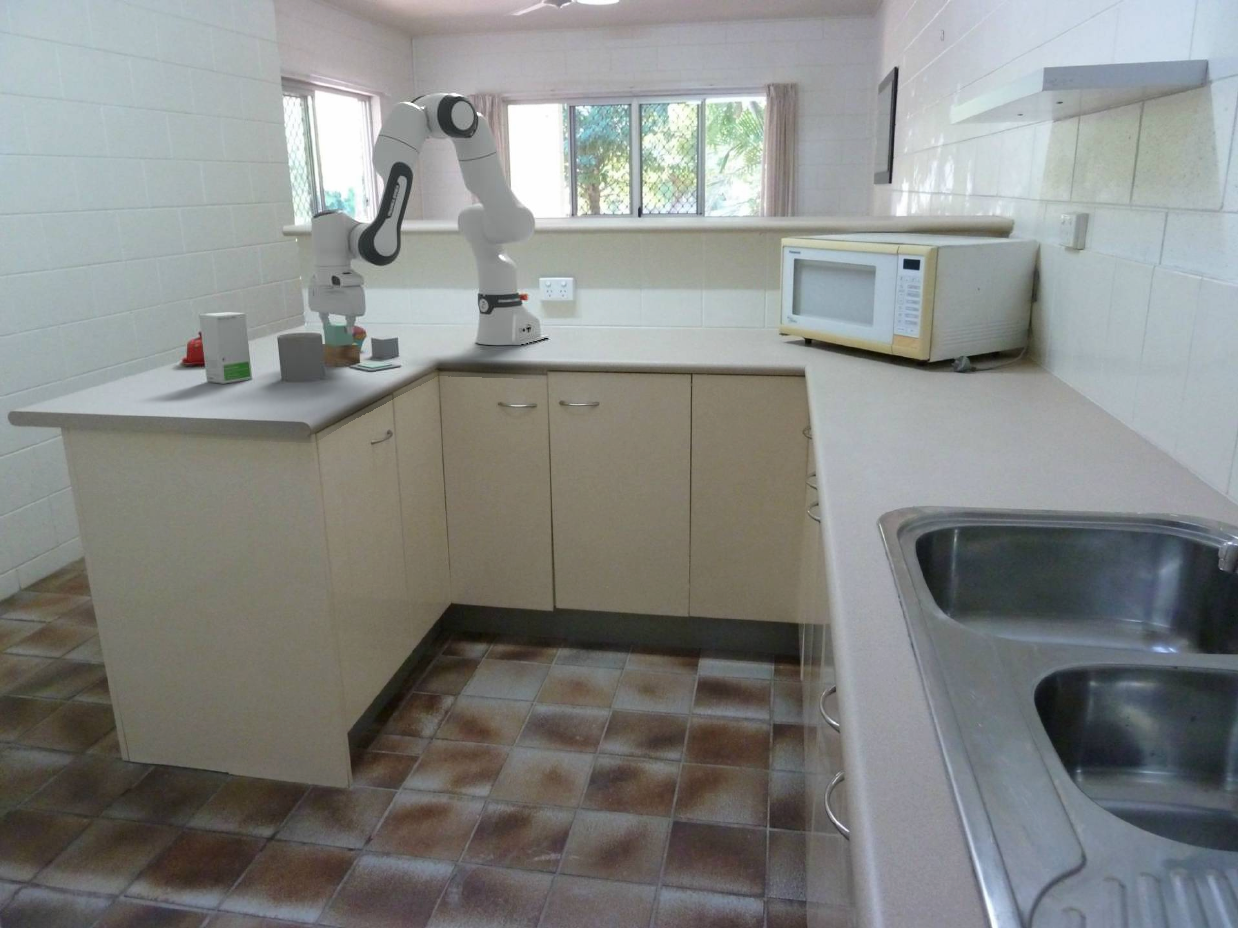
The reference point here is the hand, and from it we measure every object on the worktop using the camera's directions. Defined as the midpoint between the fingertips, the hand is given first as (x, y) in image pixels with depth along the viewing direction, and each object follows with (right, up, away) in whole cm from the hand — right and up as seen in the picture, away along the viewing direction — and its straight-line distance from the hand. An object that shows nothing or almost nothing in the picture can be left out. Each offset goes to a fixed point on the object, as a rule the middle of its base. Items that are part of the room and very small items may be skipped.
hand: (338, 331), depth 238 cm
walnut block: (0, -8, +2) cm, 8 cm away
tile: (+10, -9, -4) cm, 15 cm away
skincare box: (-19, -14, -20) cm, 31 cm away
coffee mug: (-4, -13, -15) cm, 20 cm away
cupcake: (-2, -3, +20) cm, 21 cm away
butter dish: (-34, -8, +2) cm, 35 cm away
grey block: (+9, -5, +12) cm, 16 cm away
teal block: (0, -3, +1) cm, 3 cm away
